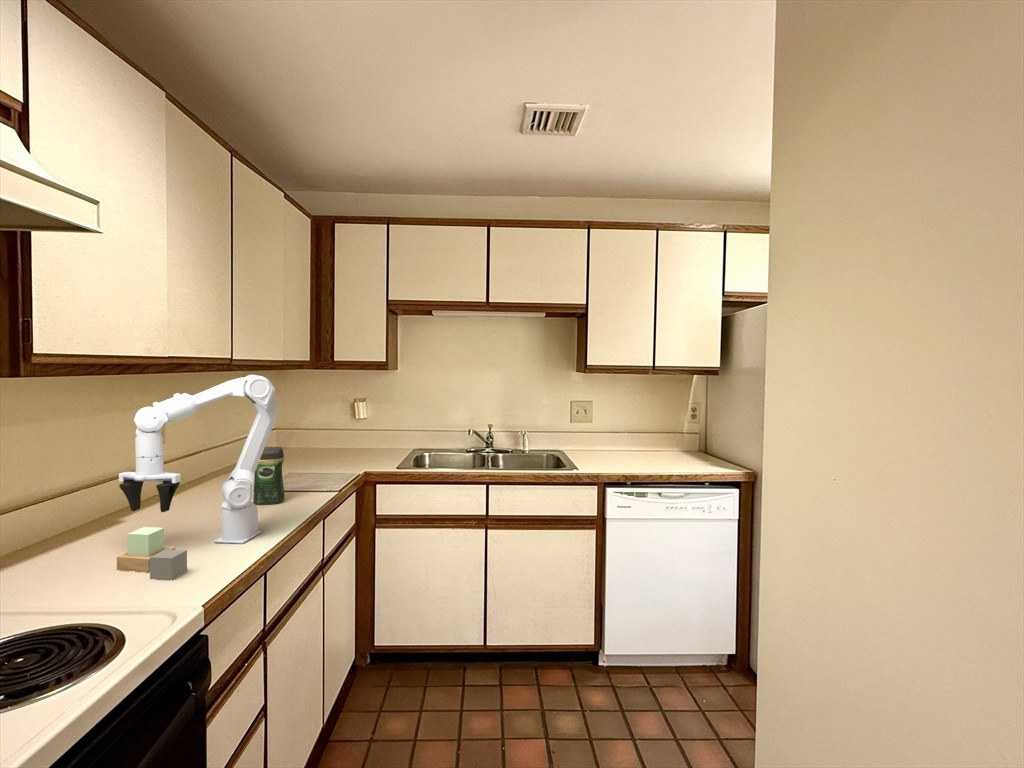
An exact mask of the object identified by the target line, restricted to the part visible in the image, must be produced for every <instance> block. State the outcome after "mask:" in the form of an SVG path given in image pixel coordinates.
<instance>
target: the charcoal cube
mask: <svg viewBox="0 0 1024 768" xmlns="http://www.w3.org/2000/svg"><path fill="white" fill-rule="evenodd" d="M186 571H187V572H188V549H175V550H169V549H165V550H163V551H161V552H159V553H157V554H155V555H153V556H151V557H150V573H149V580H150V579H156V581H171V580H172V581H174V580H175V579H177V578H179V577H180V576H179V575H181V574H182V573H184V572H186ZM187 572H186V573H187ZM184 574H185V573H184ZM182 575H183V574H182ZM182 575H181V576H182ZM178 576H179V577H178ZM176 577H177V578H176ZM174 578H175V579H174ZM173 579H174V580H173Z"/></svg>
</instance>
